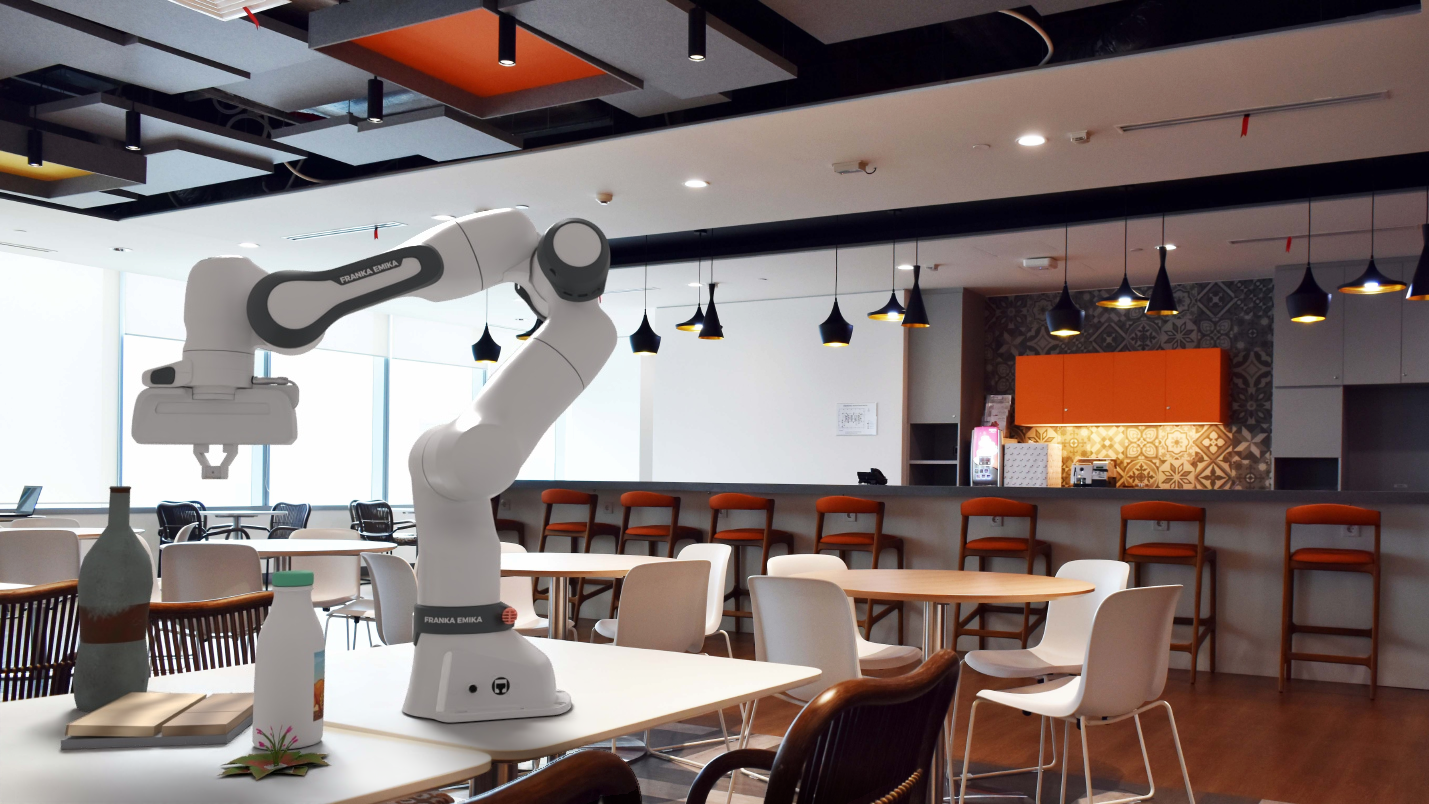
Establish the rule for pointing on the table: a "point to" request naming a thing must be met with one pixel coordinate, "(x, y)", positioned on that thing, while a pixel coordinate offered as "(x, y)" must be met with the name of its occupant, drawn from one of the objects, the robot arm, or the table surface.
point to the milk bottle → (290, 666)
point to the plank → (134, 715)
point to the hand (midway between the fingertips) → (214, 479)
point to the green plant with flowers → (274, 759)
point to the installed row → (212, 715)
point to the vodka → (113, 612)
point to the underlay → (151, 739)
